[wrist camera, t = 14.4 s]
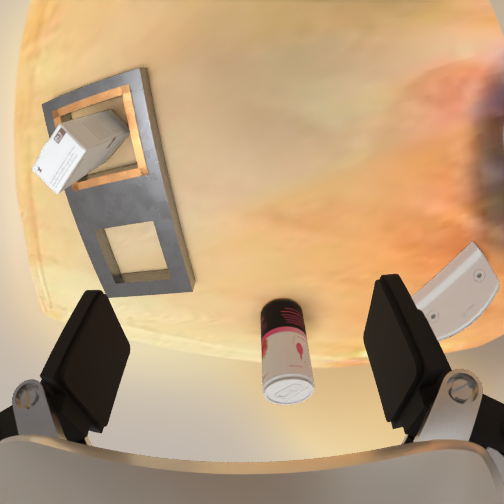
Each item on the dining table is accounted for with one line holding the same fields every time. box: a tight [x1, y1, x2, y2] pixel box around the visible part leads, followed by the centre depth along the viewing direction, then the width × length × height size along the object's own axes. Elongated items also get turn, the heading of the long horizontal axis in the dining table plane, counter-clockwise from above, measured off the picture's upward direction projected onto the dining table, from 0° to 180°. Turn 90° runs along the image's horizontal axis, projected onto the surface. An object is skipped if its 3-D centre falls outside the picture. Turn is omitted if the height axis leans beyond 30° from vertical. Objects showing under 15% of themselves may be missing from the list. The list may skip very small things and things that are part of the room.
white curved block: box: [411, 241, 499, 341], centre depth 43 cm, size 17×5×10 cm, turn 140°
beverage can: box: [261, 300, 314, 405], centre depth 43 cm, size 6×6×15 cm
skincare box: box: [32, 110, 130, 194], centre depth 29 cm, size 6×4×12 cm
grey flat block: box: [42, 68, 195, 298], centre depth 37 cm, size 30×14×3 cm, turn 7°
